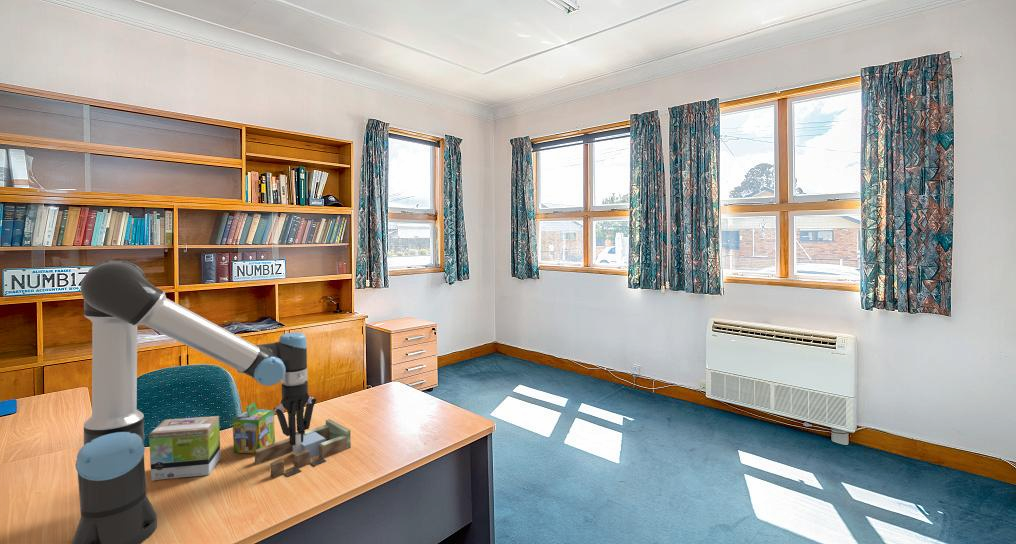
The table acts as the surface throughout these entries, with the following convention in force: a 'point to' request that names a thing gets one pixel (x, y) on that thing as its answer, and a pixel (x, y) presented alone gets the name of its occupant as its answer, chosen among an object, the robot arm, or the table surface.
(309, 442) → the block
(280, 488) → the table surface
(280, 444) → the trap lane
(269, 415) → the chalk box
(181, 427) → the tea box
